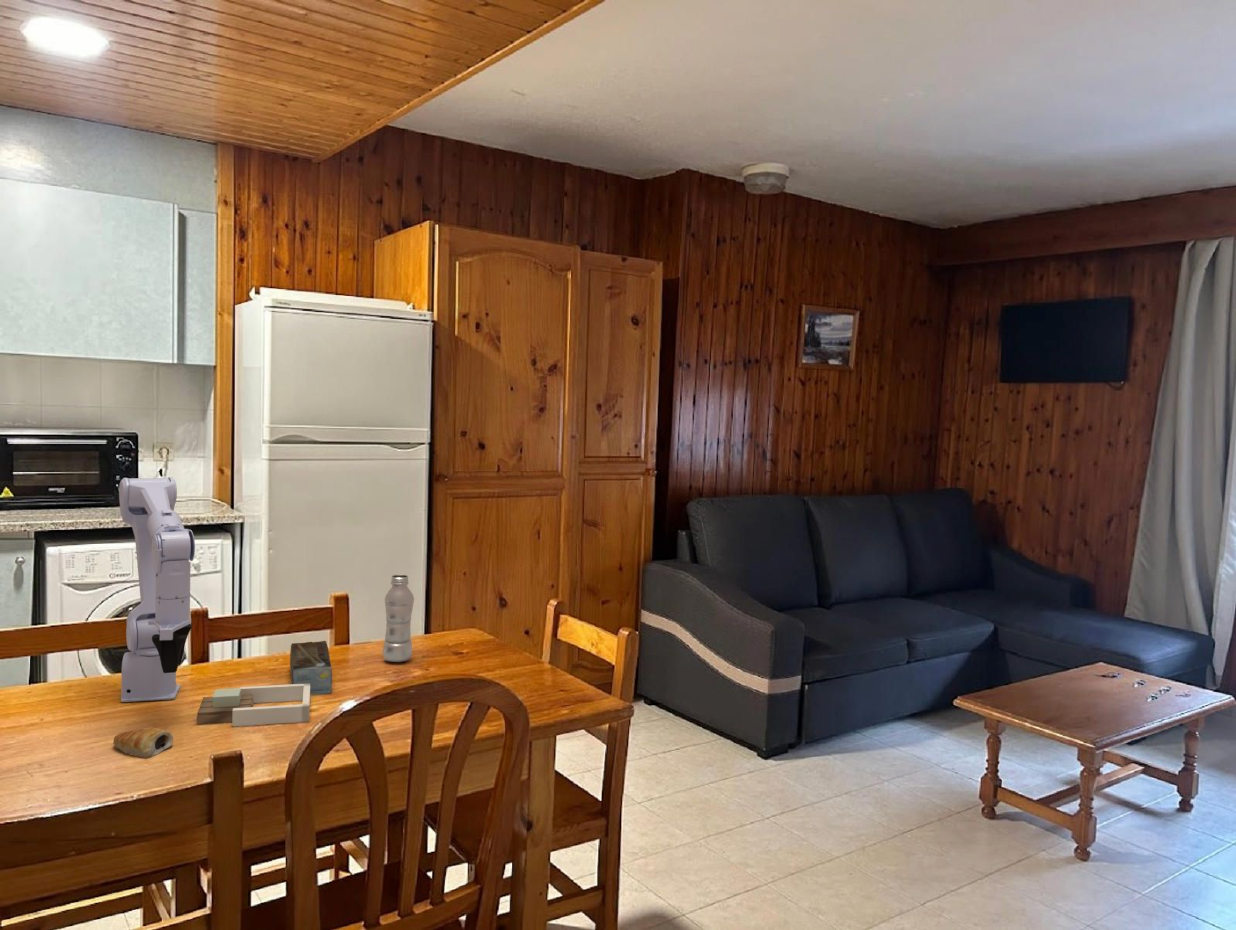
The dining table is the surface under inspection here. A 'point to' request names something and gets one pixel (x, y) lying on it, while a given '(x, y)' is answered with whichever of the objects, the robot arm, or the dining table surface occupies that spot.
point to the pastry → (143, 741)
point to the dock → (274, 712)
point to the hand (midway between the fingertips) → (172, 668)
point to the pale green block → (226, 697)
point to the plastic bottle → (398, 620)
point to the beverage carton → (311, 666)
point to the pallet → (219, 711)
